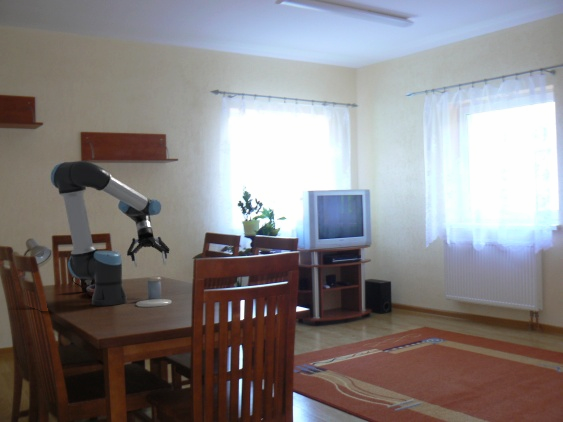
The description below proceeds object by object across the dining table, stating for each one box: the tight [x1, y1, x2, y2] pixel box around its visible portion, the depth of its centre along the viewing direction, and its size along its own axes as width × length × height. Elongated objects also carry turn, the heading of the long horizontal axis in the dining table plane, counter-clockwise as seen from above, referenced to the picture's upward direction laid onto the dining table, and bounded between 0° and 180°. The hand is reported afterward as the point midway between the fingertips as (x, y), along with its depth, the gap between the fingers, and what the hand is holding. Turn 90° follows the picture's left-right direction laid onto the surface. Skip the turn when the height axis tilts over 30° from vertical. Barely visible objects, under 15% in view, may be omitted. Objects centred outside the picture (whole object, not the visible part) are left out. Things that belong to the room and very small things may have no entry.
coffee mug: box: [71, 275, 95, 293], centre depth 316 cm, size 12×9×10 cm
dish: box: [86, 284, 95, 297], centre depth 302 cm, size 16×31×5 cm, turn 17°
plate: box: [135, 298, 172, 308], centre depth 265 cm, size 15×15×1 cm
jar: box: [146, 276, 162, 300], centre depth 279 cm, size 6×6×10 cm
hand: (150, 264), depth 290 cm, fingers open, 13 cm apart
